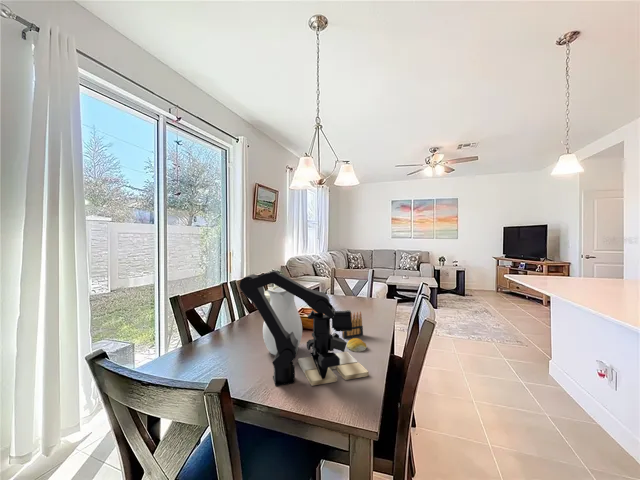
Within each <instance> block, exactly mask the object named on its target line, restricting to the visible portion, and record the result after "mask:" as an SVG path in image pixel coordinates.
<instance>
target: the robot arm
mask: <svg viewBox="0 0 640 480" xmlns="http://www.w3.org/2000/svg"><path fill="white" fill-rule="evenodd" d="M271 284H273V285H275V286H278V287H280V288H282V289H284V290H286V291H288V292H289V293H291V294H293V295H294V297H297V298H299V299H300V300H302V301H303V302H305V304H306V305H307V306H308V307H309V308H311V309H312V310H311V312H310V313H309V314H308V315H307V319H308V320H313V321H312V322H313V323H312V325H313V326H312V331H313V332H311V337H312V338H313V339H308V340H307V342H306V349H307V350H308V351H310V350H312V352H310V357H312V358H313V361H314V363H315V365H316V368H317V370H318V372H319V375H320V376H321V378H322V379H324V378H325V377H326V373H327V370H328V367H332V366H338V365H340V358H339V357H338V356H337V355H336V354H335V353H336V352H334V350H337V351H340V352H346V351H345V350H346V348H347V343H348V341H347V342H346V341H345V339H343V338H342V337H340V334H338V333H337V332H342V331H352V321H351V313H352V312H351V310H350V309H349V310H347V309H346V310H342V311H341V310H336V308H335V307H334V306H333V305H332V304H331V303H330V302H331V301H330V297H329V295H328V294H326V293H325V292H321V291H319V290H317V289H311V288H309V287H306V286H304V285H302V284H301V283H299V282H297V281H295V280H293V279H292V278H290V277H288V276H286V275H285V274H282V273H280V271H278V270H275V269H274V270H272V271H269V272H266V273H260V274H255V273H251V274H249V275H246V276H245V277H242V278H241V280H240V282H239V289H240V291H241V293H243V295H244V296H245V298H247V299H248V300H250V301H251V302H252V303H253V304H254V306H255V308H256V309H257V311H258V313H259V314H260V316H261V318H262V319H263V322H264V321H265V323H266V325H267V327H268V328H269V330H270V332H271V333H272V335H273V337H274V339H275V343H276V348H277V354H276V355H274V358H273V360H272V362H271V363H272V366H273V375H272V379H273V382H274V385H275V386H276V387H279V386H285V385H290V384H295V379H296V371H295V370H296V369H295V365H294V362H293V361H294V360H295V359H296V357H297V353H298V350H299V346H298V340H297V339H296V338H295V336H294V333H293V332H291V333H290V334H289V333H288V332H287V331H285V329H284V328H283V326H282V324H281V322H280V321H279V319H278V317H277V315H276V314H275V312H274V310H273V309H272V307H271V305H270V303H269V302H268V300H267V298H266V296H265V293H264V292H265V289H264V287H265V286H268V285H271ZM331 329H333V331H335V332H333V333H331Z"/></svg>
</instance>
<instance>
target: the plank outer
mask: <svg viewBox="0 0 640 480" xmlns="http://www.w3.org/2000/svg"><path fill="white" fill-rule="evenodd" d="M336 371H337V372H338V373H339V374H340V376H341V377H342V378H343V380H344V381H347V380H348V381H349V380H352V379H353V380H354V379H358V378H365V377H366V378H367V377H369V376H370V373H369V371H368V369H366V368H365V367H364V366H363V365H362V364H361V363H360V362H358V363H352V364H346V365H340V366H337V369H336Z"/></svg>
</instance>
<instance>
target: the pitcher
mask: <svg viewBox="0 0 640 480" xmlns="http://www.w3.org/2000/svg"><path fill="white" fill-rule="evenodd" d="M278 287H279V286H278ZM271 290H273V289H267V290H266V291H268V293H269V294H270V305H271V307H272V309H273V310H274V312H275V314H276V315H277V317H278V319H279V321H280V322H281V324H282V326H283V328H284V329H285V331H287V332H288V333H289V334H290V333H291V332H293V333H294V336H295V338H296V339H297V340H298V347H299V346H300V343H301V341H302V336H303V324H302V323H303V322H302V318H301V315H300V313H299V310H298V308H297V305H296V302H295V295H293V294H291V293H289V292H288V291H286V290H284V289H282V288H280V287H279V288H276V289H275V290H273V291H271ZM262 337H263V341H264V345H265V347H266V349H267V350H268V352H269V354H271V355H272V356H276V354H277V348H276V343H275V339H274V337H273V335H272V333H271V332H270V330H269V328H268V327H267V325H266V323H265V321H264V320H263V325H262Z"/></svg>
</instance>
